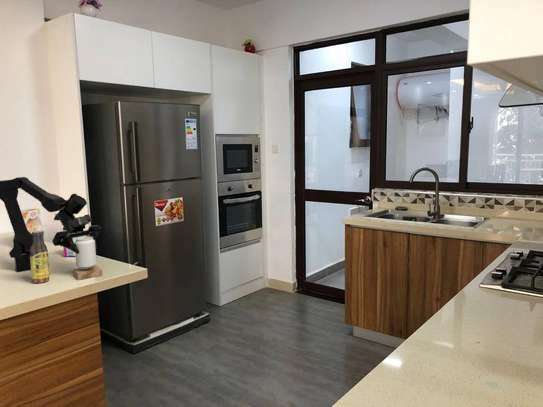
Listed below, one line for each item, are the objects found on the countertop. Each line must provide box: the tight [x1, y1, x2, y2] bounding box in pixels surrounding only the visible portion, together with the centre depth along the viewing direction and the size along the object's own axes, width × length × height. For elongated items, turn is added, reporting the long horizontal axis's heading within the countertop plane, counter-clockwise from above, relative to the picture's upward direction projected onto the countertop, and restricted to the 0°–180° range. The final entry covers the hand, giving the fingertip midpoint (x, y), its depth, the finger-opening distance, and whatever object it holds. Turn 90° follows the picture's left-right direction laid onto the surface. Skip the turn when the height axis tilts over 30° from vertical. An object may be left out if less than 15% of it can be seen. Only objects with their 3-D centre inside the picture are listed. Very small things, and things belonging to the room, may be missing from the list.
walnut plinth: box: [72, 264, 103, 281], centre depth 171 cm, size 9×9×2 cm
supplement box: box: [62, 237, 79, 258], centre depth 205 cm, size 6×6×12 cm
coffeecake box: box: [13, 208, 43, 235], centre depth 230 cm, size 15×7×20 cm, turn 179°
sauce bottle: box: [30, 230, 50, 284], centre depth 163 cm, size 6×6×20 cm
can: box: [75, 236, 97, 269], centre depth 170 cm, size 8×8×12 cm
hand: (87, 251), depth 169 cm, fingers closed on can, 7 cm apart
